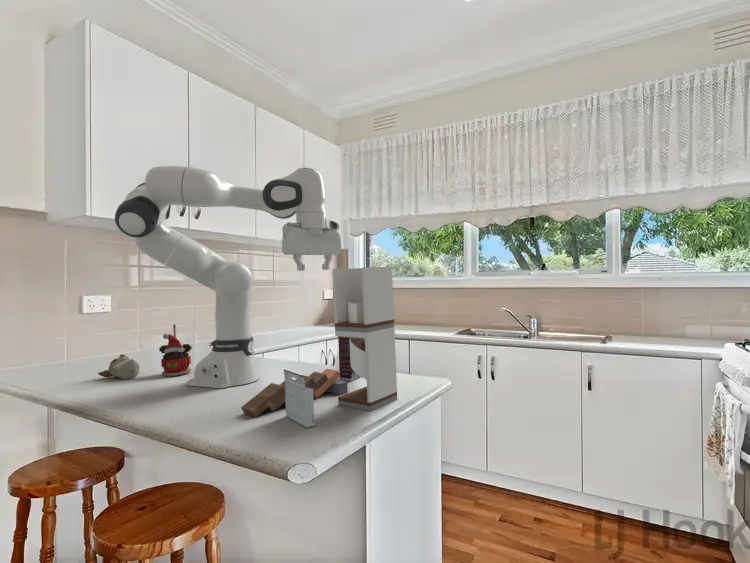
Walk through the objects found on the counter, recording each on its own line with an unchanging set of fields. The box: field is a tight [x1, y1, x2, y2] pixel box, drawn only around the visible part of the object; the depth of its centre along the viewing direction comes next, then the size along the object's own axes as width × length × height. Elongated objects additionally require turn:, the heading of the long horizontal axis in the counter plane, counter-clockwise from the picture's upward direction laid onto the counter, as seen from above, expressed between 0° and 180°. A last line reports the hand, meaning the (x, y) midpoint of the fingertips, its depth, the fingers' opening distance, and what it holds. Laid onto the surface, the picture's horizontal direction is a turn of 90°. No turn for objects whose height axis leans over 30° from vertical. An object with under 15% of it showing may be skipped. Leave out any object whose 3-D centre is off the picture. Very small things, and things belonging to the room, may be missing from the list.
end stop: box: [324, 379, 349, 396], centre depth 127 cm, size 3×10×3 cm, turn 47°
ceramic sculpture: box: [97, 354, 140, 380], centre depth 158 cm, size 11×9×15 cm
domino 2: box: [264, 380, 286, 413], centre depth 114 cm, size 2×5×10 cm
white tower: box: [331, 266, 398, 412], centre depth 115 cm, size 11×11×35 cm
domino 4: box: [309, 371, 328, 393], centre depth 121 cm, size 2×5×10 cm
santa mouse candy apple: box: [158, 324, 193, 377], centre depth 160 cm, size 11×9×18 cm
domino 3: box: [281, 374, 315, 407], centre depth 118 cm, size 2×5×10 cm
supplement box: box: [337, 336, 362, 382], centre depth 142 cm, size 9×5×16 cm, turn 151°
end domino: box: [313, 368, 340, 400], centre depth 125 cm, size 2×5×10 cm
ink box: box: [283, 369, 315, 429], centre depth 102 cm, size 12×2×12 cm, turn 35°
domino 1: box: [240, 382, 285, 418], centre depth 111 cm, size 2×5×10 cm
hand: (313, 270), depth 131 cm, fingers open, 8 cm apart
